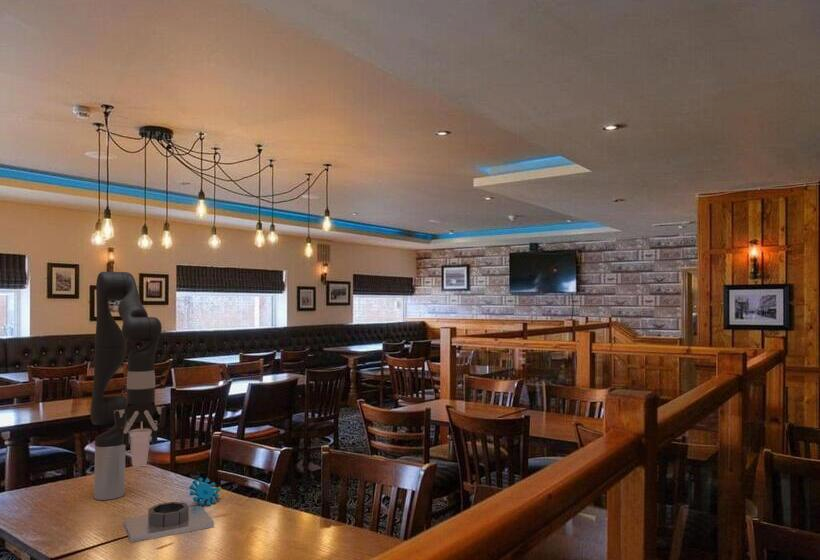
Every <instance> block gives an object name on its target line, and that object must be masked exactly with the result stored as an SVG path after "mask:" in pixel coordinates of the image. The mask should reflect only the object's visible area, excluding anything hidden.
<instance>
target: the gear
mask: <svg viewBox="0 0 820 560" xmlns="http://www.w3.org/2000/svg"><path fill="white" fill-rule="evenodd" d="M203 481H204V483H203ZM210 481H211V480H210V478H206V479H204V478H203V477H198V479H194V480H192V483H191V484H190V485H189V487H188V488H189V490H190V492H189V496H193V498H192V501H193V502H196V503H197V502H198V504H199V506H202V507H203V505H204V504H205V506H207V507H209V506H211V504H214V505H215V503H216V502H217V500H218V498H220V494H218V492H220V491H221V490H222V487H221V486H218V487H215V486H216V482H214V481H212V482H211V483H209V482H210ZM205 501H206V503H205Z"/></svg>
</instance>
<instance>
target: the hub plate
mask: <svg viewBox="0 0 820 560" xmlns="http://www.w3.org/2000/svg"><path fill="white" fill-rule="evenodd" d="M214 521H215V520H213V518H212V517H211V516H210V515H209V514H208V512H207V511H206V510H205V508H204V507H203V505H202V506H201V505H197V506H192V507H189V505H188V504H187V502H179V501H170V502H163V503H157V504H156V505H153V506H151V507H150V508H148V511H147V514H144V515H143V514H142V515H139V516H138V515H137V516H133V517H127V518H123V521H122V522H123V527H124V529H125V532H126V534H127V538H128V539H129V542H130V544H131V543H136V542H141V541H147V540H152V539H157V538H164V537H168V536H173V535H179V534H183V533H184V534H185V533H188V532H195V531H199V530H200V531H201V530H206V529H209V528H214V527H215V522H214Z"/></svg>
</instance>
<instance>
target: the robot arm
mask: <svg viewBox="0 0 820 560" xmlns="http://www.w3.org/2000/svg"><path fill="white" fill-rule="evenodd" d="M95 288H96V289H95V291H96V292H95V293H96V299H95V300H96V325H95V338H94V357H93V362H94V363H93V365H94V366H93V386H92V391H91V392H92V395H91V402H90V420H91V423H92V425H96V426H99V425H101V426H102V425H110V424H114V425H113V426H112V427H111V428H110V429H108V430H107V431H105V432H102V433H101V434H98V435H96V437H95V439H94V476H93V479H94V480H93V481H94V482H93V498H94V499H95V500H98V501H108V500H115V499H118V498H121V497H123V496H125V492H126V490H125V489H126V488H125V487H126V448H128V447H129V446H130V439H129V433H128V431H130V429H131V427H132V426H133V425H134V423H135V424H136V423H137V424H138V423H141V422H143V423H147V422H148V424H149V425H150V426H151V429H152V434H151V437H150V441H151V442H150V443H151V445H155V444H156V442H157V441H158V432H159V429H163V428H164V427H165V423H166V416H167V415H166V414H167V407H166V406H164V405H161V406H157V405H156V403H155V401H156V394H155V393H156V375H155V359H156V358H155V355H156V351H157V347H158V343H159V340H160V338H161V334H162V328H163V327H162V323H161V320H160V319H159V318H158V317H154V316H148V312H147V310H146V308H145V307H144V305H143V303H142V302H141V298H140V294H139V289H138V285H137V282H136V279H135V277H134V276H133V274H131V273H130V272H125V271H101V272H99V273H98V275H97V278H96V286H95ZM109 301H120V302H119V304H118V307H117V308H118V309H117V312H118V315H119V317H120V318H121V320H122V327H121V328H120V326H119V325H118V323H117V322H116V320H115V318H114V316H113V315H112V312H111V310H110V306H109V305H110V304H109ZM127 342H131V343H134V342H135V343H136V342H146V343H145V345H144V346H142V348H137V349H134V350H131V351H130V352H129V353H128V355H127V375H126V394H125V395H126V396H125V395H123V394H119V395H118V394H115V395H106V396H105V391H106V388H107V387H108V384H109V383H110V381H111V379H112V378H113V377H114V375H115V374H116V373H117V371H119V370H120V368H121V366H122V365H123V363H124V361H125V359H126V349H127ZM156 412H157V413H158V415H159V420H158V423H157V424H156V422H155V420H154V419H153V415H154V414H155V413H156Z"/></svg>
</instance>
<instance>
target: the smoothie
mask: <svg viewBox="0 0 820 560" xmlns="http://www.w3.org/2000/svg"><path fill="white" fill-rule="evenodd" d="M143 423H144V422H140V428H135V429H131V430H130V429H129V431H128V433H129V446H130V455H131V464H132V467H142V466H146V465H147V464H148V463H147V462H148V456H149V455H148V454H149V451H150V450H149V449H150V443H151V442H150V441H151V434H152V428H144V426H143V425H144V424H143Z"/></svg>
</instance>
